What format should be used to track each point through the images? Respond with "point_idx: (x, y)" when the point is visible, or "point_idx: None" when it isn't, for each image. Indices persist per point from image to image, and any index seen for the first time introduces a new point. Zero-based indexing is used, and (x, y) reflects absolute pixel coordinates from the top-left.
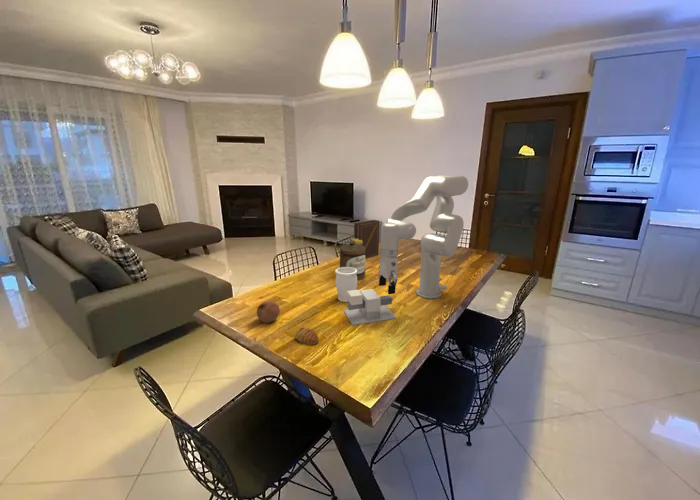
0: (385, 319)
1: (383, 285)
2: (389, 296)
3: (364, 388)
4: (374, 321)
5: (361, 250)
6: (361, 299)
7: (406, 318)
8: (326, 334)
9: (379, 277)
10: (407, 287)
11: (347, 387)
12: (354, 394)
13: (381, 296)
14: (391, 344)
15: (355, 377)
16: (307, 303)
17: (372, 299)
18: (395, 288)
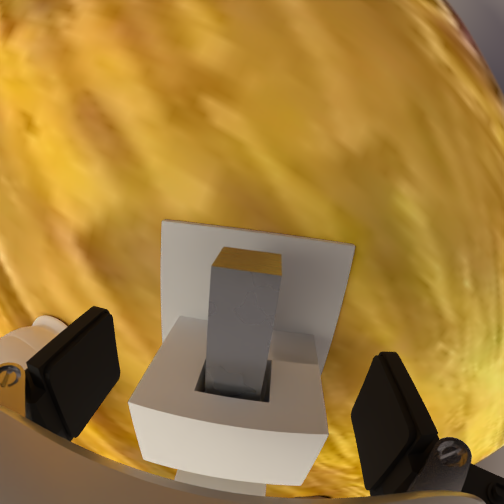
0: (338, 313)
1: (112, 335)
2: (240, 282)
3: (496, 441)
4: (322, 366)
5: None
6: (265, 489)
7: (381, 185)
8: (303, 484)
9: (60, 436)
10: (49, 5)
11: (473, 460)
12: (489, 452)
13: (212, 343)
14: (476, 364)
15: (471, 452)
16: (96, 448)
17: (309, 467)
18: (417, 391)
